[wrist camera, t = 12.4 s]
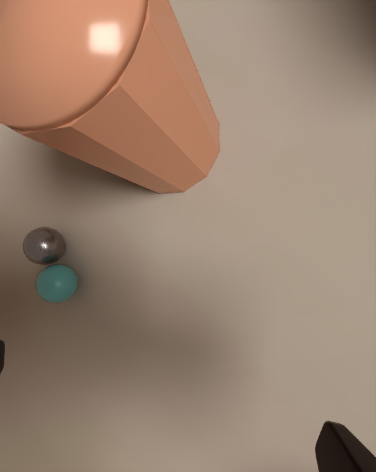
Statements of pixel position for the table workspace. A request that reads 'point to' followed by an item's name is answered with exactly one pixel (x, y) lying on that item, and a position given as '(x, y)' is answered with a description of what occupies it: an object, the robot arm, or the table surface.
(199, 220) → the table surface
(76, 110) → the faceted domed cylinder
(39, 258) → the graphite marble
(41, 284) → the teal marble
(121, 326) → the table surface
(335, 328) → the table surface
